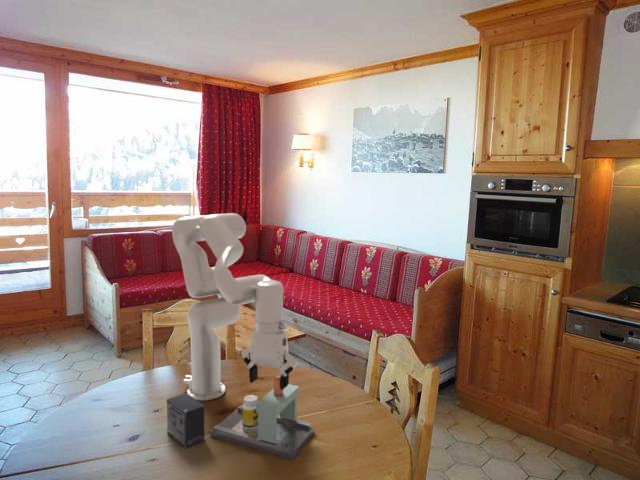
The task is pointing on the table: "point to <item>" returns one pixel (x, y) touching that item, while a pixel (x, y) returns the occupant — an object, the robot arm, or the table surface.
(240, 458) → the table surface
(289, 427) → the base
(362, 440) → the table surface
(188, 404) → the small box
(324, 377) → the table surface
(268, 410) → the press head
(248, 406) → the supplement bottle
